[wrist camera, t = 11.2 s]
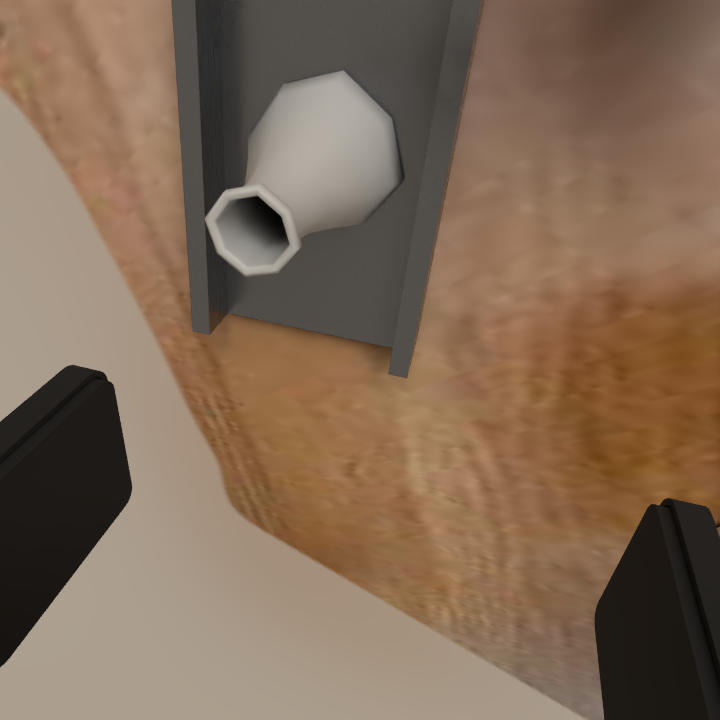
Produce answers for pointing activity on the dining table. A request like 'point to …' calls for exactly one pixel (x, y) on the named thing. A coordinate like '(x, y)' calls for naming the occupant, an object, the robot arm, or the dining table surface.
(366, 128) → the flask
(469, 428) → the dining table surface
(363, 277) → the track
